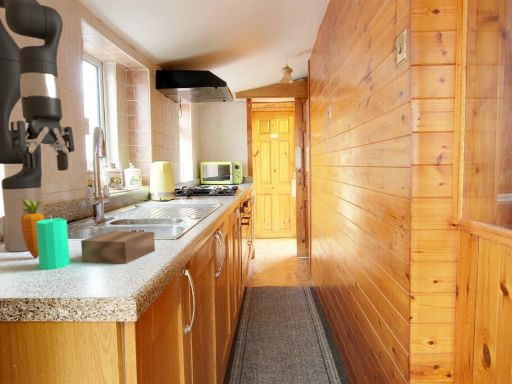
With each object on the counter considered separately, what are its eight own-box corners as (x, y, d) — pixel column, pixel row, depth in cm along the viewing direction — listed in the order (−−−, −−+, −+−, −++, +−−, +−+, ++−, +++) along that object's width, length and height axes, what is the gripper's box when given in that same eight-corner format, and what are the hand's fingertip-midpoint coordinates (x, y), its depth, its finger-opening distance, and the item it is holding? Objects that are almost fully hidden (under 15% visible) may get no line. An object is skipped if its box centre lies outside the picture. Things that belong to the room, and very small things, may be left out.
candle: (48, 262, 82) (43, 212, 81) (74, 261, 83) (70, 211, 82) (34, 270, 76) (29, 216, 75) (62, 268, 77) (58, 215, 76)
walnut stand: (82, 261, 82) (81, 240, 82) (115, 249, 94) (114, 231, 93) (126, 263, 79) (124, 241, 79) (154, 250, 90) (153, 231, 90)
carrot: (52, 256, 89) (47, 197, 88) (34, 261, 84) (28, 199, 83) (37, 255, 90) (32, 197, 89) (19, 260, 86) (13, 199, 84)
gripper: (54, 104, 85) (59, 170, 86) (-4, 93, 71) (4, 172, 72) (79, 101, 83) (84, 169, 84) (25, 89, 69) (32, 171, 70)
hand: (47, 170), depth 78 cm, fingers open, 8 cm apart
